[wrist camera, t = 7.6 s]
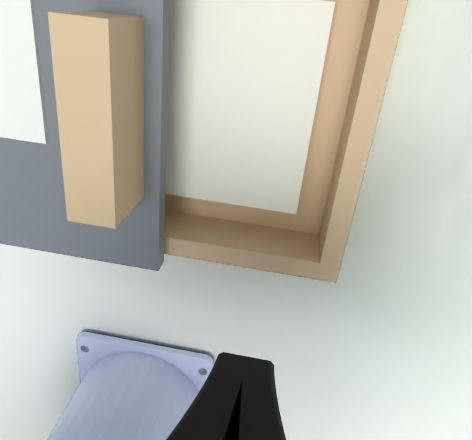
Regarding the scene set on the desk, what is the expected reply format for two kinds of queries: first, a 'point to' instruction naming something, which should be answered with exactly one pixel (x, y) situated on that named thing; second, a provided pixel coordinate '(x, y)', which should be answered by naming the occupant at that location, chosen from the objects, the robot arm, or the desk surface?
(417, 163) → the desk surface
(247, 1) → the kraft box
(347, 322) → the desk surface
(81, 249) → the lid
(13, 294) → the desk surface
